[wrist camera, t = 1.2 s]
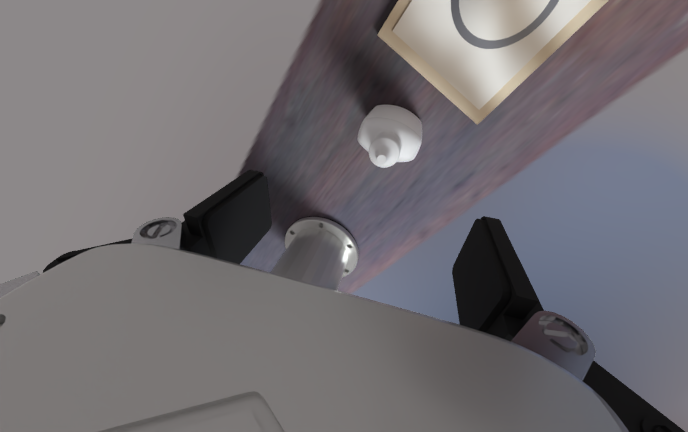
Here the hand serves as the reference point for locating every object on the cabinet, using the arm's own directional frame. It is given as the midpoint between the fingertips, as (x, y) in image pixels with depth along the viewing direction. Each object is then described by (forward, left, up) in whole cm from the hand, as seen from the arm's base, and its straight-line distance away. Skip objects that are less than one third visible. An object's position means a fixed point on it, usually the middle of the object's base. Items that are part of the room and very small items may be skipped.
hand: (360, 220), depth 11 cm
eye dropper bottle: (0, 0, -20) cm, 20 cm away
